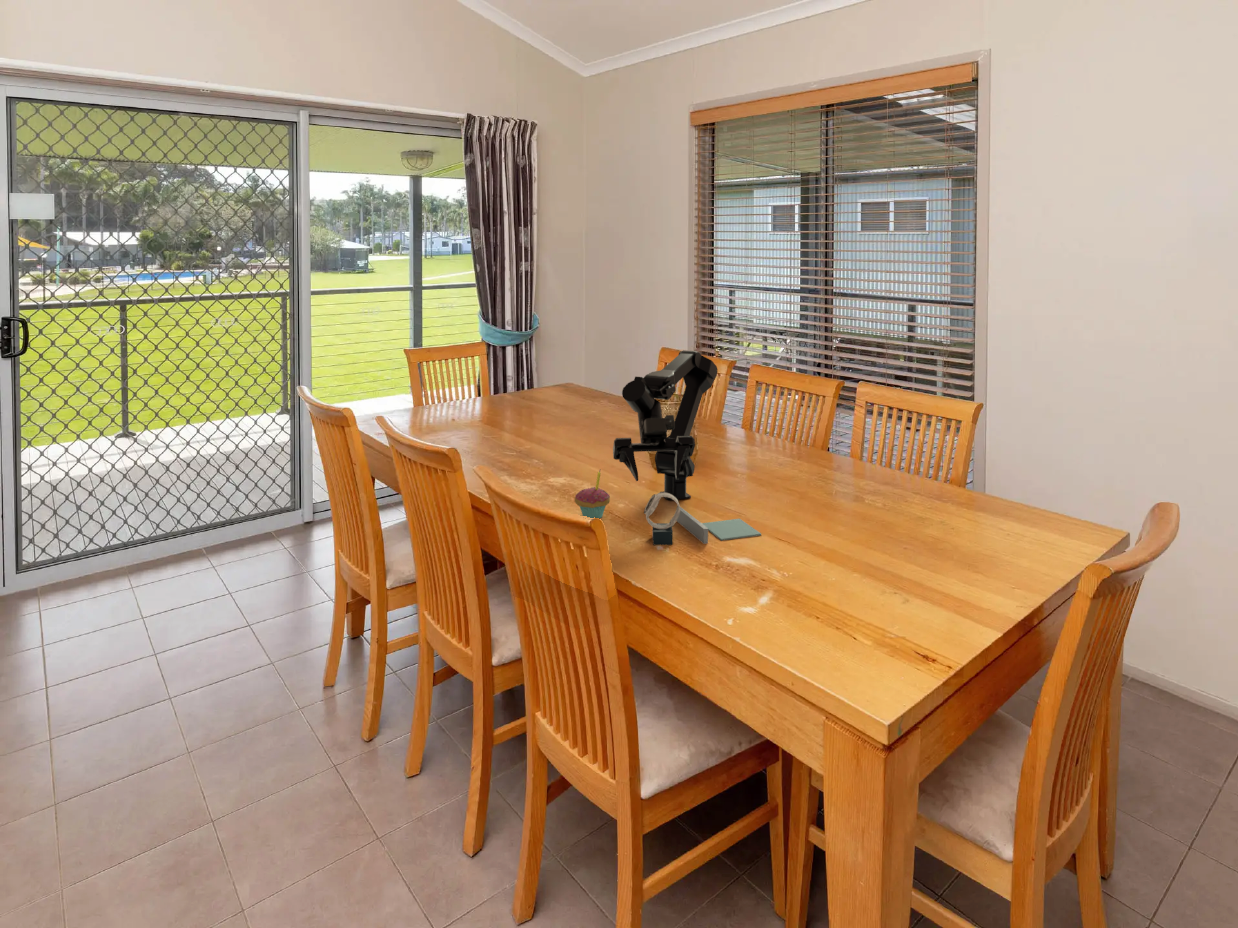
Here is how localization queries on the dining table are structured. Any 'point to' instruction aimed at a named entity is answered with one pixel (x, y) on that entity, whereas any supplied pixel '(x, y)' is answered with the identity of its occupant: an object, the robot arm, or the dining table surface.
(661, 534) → the watch
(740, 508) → the dining table surface
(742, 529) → the mat
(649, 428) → the robot arm
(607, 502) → the cupcake
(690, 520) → the acrylic wall
